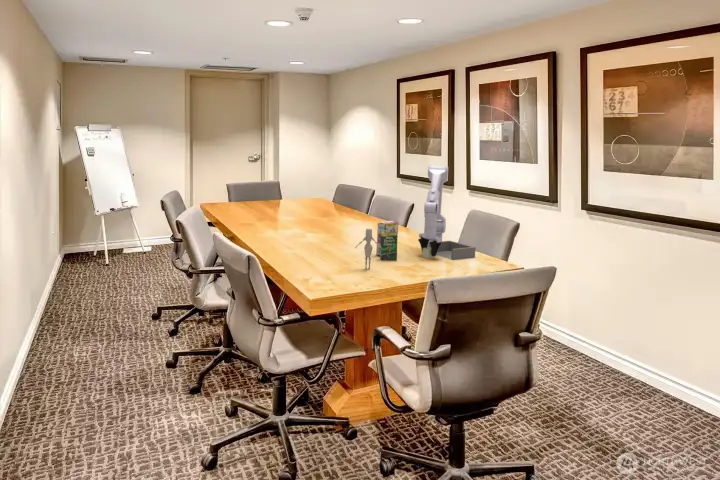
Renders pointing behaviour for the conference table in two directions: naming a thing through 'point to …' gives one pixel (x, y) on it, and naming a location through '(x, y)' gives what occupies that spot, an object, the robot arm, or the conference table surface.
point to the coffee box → (388, 246)
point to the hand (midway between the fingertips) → (428, 254)
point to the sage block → (427, 253)
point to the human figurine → (368, 246)
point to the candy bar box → (387, 228)
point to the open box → (455, 250)
